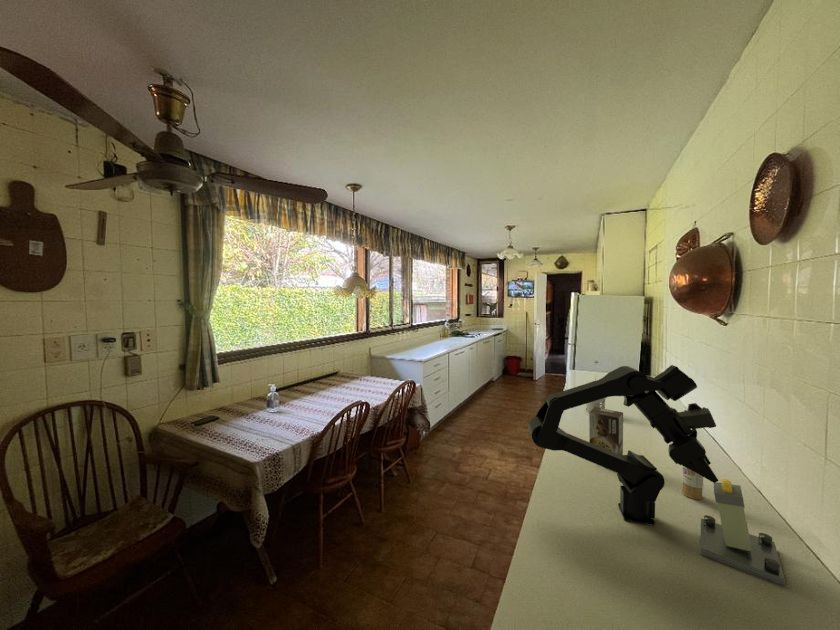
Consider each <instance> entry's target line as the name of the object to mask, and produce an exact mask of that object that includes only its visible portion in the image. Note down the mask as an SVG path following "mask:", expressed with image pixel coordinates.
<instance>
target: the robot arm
mask: <svg viewBox="0 0 840 630" xmlns="http://www.w3.org/2000/svg"><path fill="white" fill-rule="evenodd" d="M592 381H593V382H590V383H587V382H586V383H587V384H586V383H584V384H581V385H578V386H575V387H572V388H569V389H565V390H562V391H559V392H555V393H554V392H553V393H550V394H549V395H547V397H546V399H545V401H544V403H543V404H542V405H541V406H540V408H539V409H538V410H537V412H536V415H535V416H534V417H533V418H532V419H530V421H529V422H528V426H527V427H528V431H529V435H530V437H531V439H532V442H533V444H535V445H536V446H537V447H538V448H542V449H545V450H550V451H555V452H556V451H557V452H558V451H563V452H566V453H569V454H571V455H573V456H576V457H578V458H580V459H583V460H586V461H588V462H591V463H592V464H595V465H598V466H599V467H602V468H604V469H607V470H609V471H610V472H611V471H612V472H614V473H616V476H617V479H618V481H619V483H621V485H620V487H619V488H620V490H619V491H620V494H619V495H620V496H619V499H620V500H619V502H618V504H617V506H618V508H619V511H620V513H621V515H622V518H623V520H625V521H627V522H632V523H639V524H644V525H651V526H655V525H656V522H655V520H654V519H656V501H657V498H659V497H658V496H659V494H660V492H661V491H662V490H663V488H664V487H665V485H666V484H665V478H664V476H663V474H662V473H661V472H659V470H658V468H657V467H656V466H654V464H653V463H652V462H651V461H650V460H649V459H648V458H647V457H645V455H643V454H637V453H634V452H633V451H631V450H627V454H623V455H619V454H617V453H614V452H612V451H609V450H607V449H604V448H602V447H600V446H597V445H595V444H592V443H590V442H589V441H587V440H586V439H585V440H584V439H582V438H580V437H577V436H575V435H572V434H570V433H568V432H566V431H564V430H563V429H562V428H560V427H559V425H560V423H561V419H562V415H563V414H564V411H566V410H569V409H574V408H576V407H580V406H583V405H586V404H587V403H590V402H593V401H597V400H600V399H603V398H606V399H607V398H610V397H611V398H612V397H623V406H625V407H628V408H629V407H631V406H632V405H634V406H635V407H636V408H637V409H638V410H639V411H640V412H641V414H642V415H643V416H644V418H646V419H647V420H648V421H649V425H650V426H651V427H652V429H656V431H657V432H658V433H659V434H660V435H661V437H662V438H663V441H664V442H665V443H666V445H668V444H669V445H668V448H667V449H668V450H667V451H668V456H669V458H670V459H672V461H673V462H674V463H675V464H676V465H679V466H682V467H683V466H684V467H686V468H688V469H690V470H692V471H694V472H695V473H697V474H699V475H701V476H703V479H704V478H705V479H706V480H708V481H710V482H711V483H713V484H714V483H715V482H719V478H718V477H717V475H716V474H715V472H714V471H713V470H712V468H711V467H710V465H711V464H712V463H711V461H710V460H709V457H708V456H707V455H706V454H707V452H706V448H705V447H704V446H703V444H702V443H701V442H700V441H699V440H698V431H697V429H704V428H708V429H712V428H716V427H717V424H716V422H715V419H714V417H713V414H712V413H711V411H710V409H709V407H708V408H707V407H701V406H700V405H699V404H697V403H696V402H694V403H693V402H692V403H688V404H687V405H688V407H687V410H686V409H685V410H684V411H679V412H678V410H677V409H676V408H674V407H671V406H670V405H669V404H668V403H667V402H666V401H669V400H670V399H671V401H673V402H677V401H678V400H680V399H681V398H683V397H685V396H686V395H688V394H689V393H691V392H692V391H694V390H696V389H697V388H698V385H697V383H696V382H695V380H694V379H693V378H691V377H690V376H688V375H687V374H686V373H685V372H684V371H682V370H681V369H680V368H679V367H678V366H676V365H673V364H671V365H670V366H668V367H667V368H666V369H665V370H664V371H662V372H660V373H659V374H658V375H656V376H654V377H653V376H651V375H648V374H644V373H643V372H642V371H640V370H637V369H636V368H634V367H631V366H629V365H628V366H627V365H623V366H619V367H617V368H615V369H613V370H611V371H609V372H608V373H607V374H605V375H604V376H603V377H601V378H600V379H596V381H595V380H592ZM663 398H664V399H665V400H666V401H665V400H664V399H663Z"/></svg>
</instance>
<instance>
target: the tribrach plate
mask: <svg viewBox="0 0 840 630" xmlns="http://www.w3.org/2000/svg"><path fill="white" fill-rule="evenodd" d="M749 536H750V542H751V547H752V552H751V551H747V550H743V549H738V548H734V547H729V546H726V544H725V539H724V534H723V529H722V524H720V523H716V519H715V517H713V516H710V515H708V514H707V515H706V514H705V515H704V516H703V518H700V555H701V556H703V557H706V558H708V559H711V560H714V561H717V562H719V563H721V564H725V565H727V566H730V567H732V568H735V569H738V570H741V571H743V572H745V573H749V574H751V575H753V576H755V577H758V578H761V579H764V580H767V581H769V582H772V583H773V584H777V585H779V586H783V587H785V575H784V571H783V568H782V564H781V561H780V557H779V554H778V551H777V546H776V544H775V541H773V537H772V536H770V535H769V534H767V533H764V532H759V533H758V536H757V535H754V534H751V533H749Z"/></svg>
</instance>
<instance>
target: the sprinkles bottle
mask: <svg viewBox="0 0 840 630" xmlns="http://www.w3.org/2000/svg"><path fill="white" fill-rule="evenodd" d="M681 478H682V479H681V480H682V488H681V493H682V494H683V495H684V496H686V497H687V498H689V499H694V500H702V499H703V498H704V495H703V488H704V477H703V476H701V475H699V474H697V473H695V472H694V471H692V470H690V469H688V468H686V467H684V466H682V477H681Z"/></svg>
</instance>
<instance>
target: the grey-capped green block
mask: <svg viewBox="0 0 840 630" xmlns="http://www.w3.org/2000/svg"><path fill="white" fill-rule="evenodd" d="M713 494H714V499H715V503H717V508H718V513H719V518H720V523H721V524H720V525H722V529H723V534H724V539H725V544H726V546H729V547H734V548H738V549H743V550H747V551H751V552H752V547H751V542H750V536H749V534H750V531H749V527H748V521H747V518H746V513H745V502H744V498H743V497H744V496H743V492H742V486H741V485H740V484H739V485H738V484H733V483H732V482H731V480H729V479H726V478H722V479H721V482H719V481H717V482H715V483H713Z"/></svg>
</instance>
